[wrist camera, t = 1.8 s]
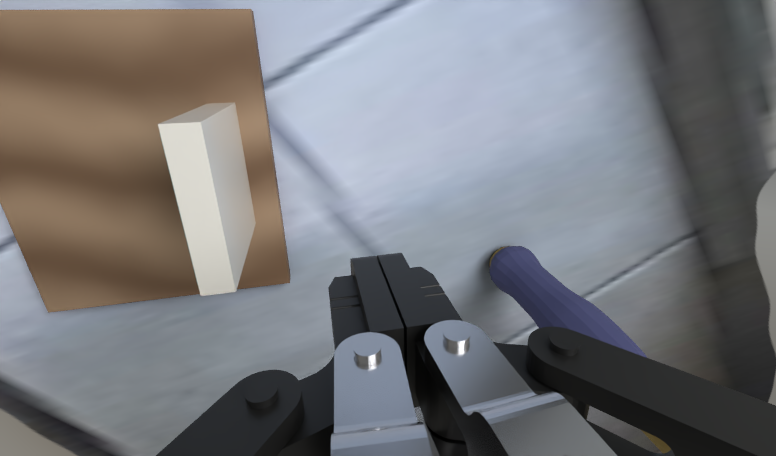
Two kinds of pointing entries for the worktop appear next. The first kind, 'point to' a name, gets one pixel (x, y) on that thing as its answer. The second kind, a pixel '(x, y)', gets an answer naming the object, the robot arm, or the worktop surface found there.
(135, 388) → the worktop surface
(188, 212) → the block
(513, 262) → the rubber mallet
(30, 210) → the board
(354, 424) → the robot arm
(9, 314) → the worktop surface
